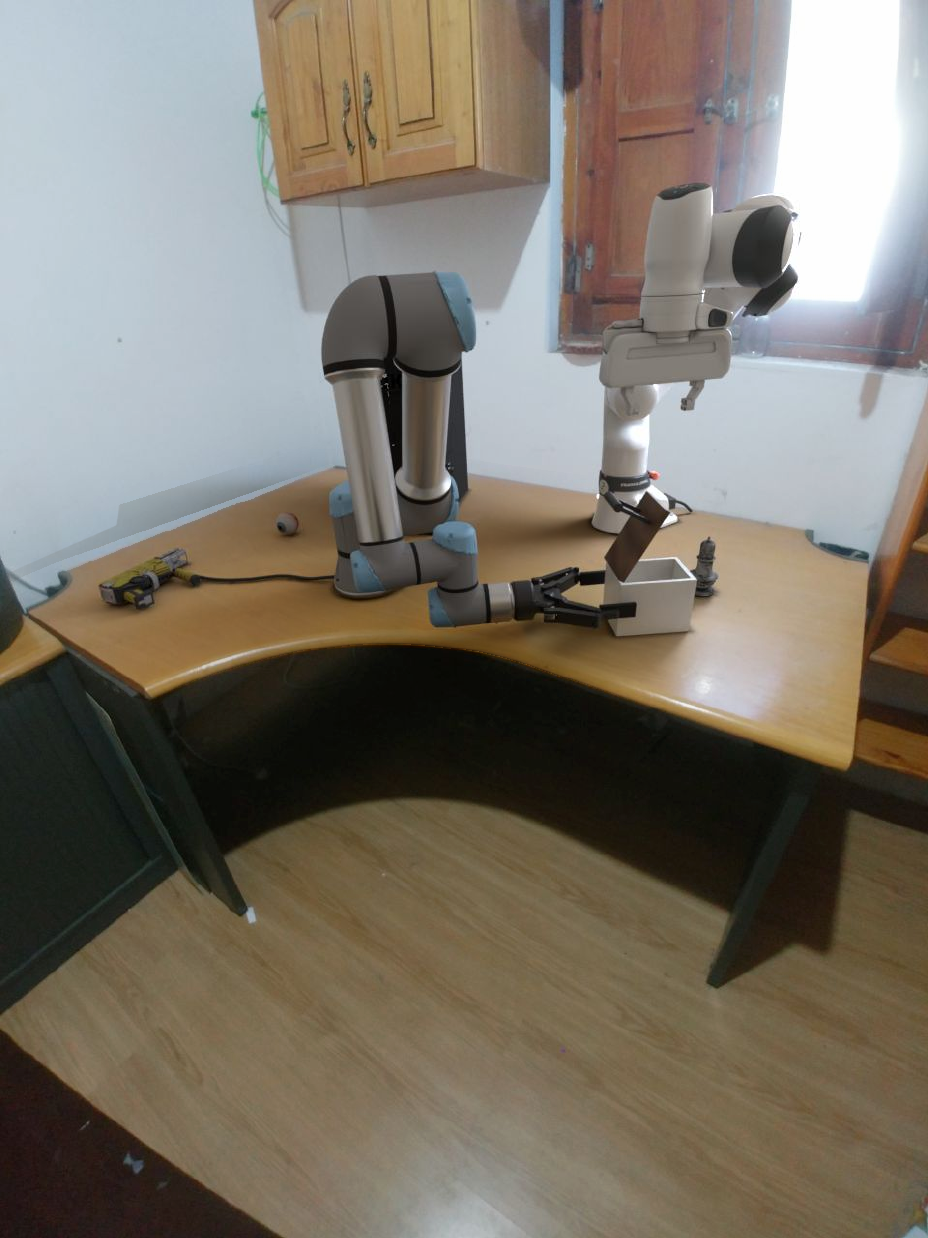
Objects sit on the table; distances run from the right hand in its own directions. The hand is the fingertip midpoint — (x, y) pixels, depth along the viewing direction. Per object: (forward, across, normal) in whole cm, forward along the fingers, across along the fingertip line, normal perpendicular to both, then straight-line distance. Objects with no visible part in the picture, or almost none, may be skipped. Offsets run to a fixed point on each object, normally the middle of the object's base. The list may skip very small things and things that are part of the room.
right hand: (659, 412), depth 97 cm
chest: (+39, +1, 0) cm, 39 cm away
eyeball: (+39, -70, +68) cm, 105 cm away
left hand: (+32, -3, +1) cm, 32 cm away
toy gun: (+39, -96, +43) cm, 113 cm away
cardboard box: (+39, -33, +77) cm, 92 cm away
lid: (+21, -1, 0) cm, 21 cm away
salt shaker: (+39, +18, +8) cm, 43 cm away
